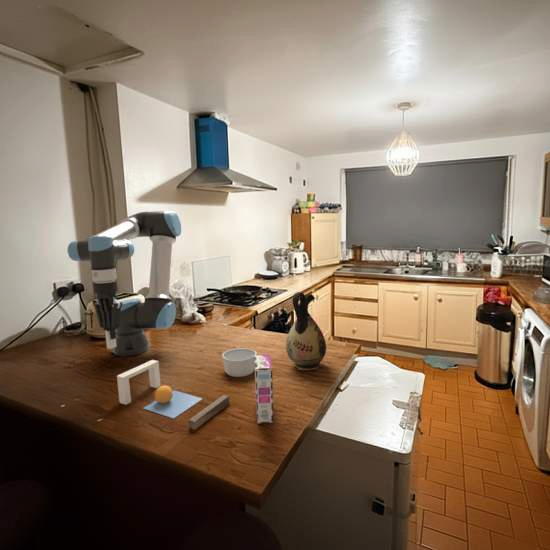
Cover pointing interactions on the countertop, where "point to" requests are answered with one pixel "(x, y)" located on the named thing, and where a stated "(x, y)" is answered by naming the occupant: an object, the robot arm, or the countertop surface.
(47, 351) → the countertop surface
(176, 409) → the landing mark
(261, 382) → the candy bar box
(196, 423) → the stopper
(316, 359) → the ceramic jug
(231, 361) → the ramekin
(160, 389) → the ball
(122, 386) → the bridge
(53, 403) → the countertop surface
